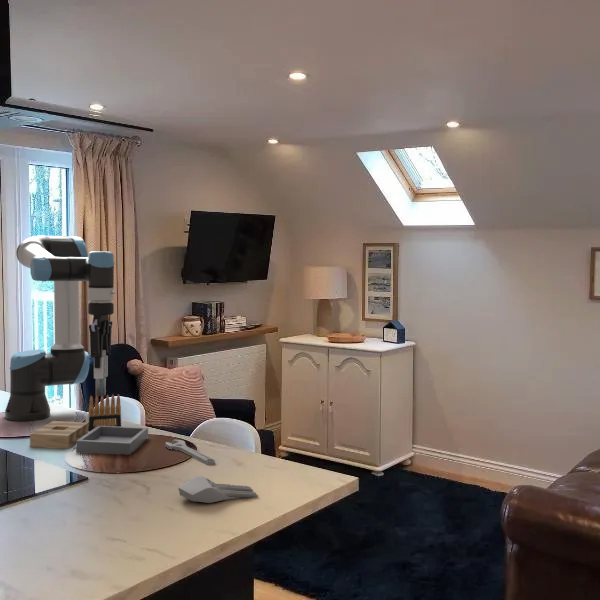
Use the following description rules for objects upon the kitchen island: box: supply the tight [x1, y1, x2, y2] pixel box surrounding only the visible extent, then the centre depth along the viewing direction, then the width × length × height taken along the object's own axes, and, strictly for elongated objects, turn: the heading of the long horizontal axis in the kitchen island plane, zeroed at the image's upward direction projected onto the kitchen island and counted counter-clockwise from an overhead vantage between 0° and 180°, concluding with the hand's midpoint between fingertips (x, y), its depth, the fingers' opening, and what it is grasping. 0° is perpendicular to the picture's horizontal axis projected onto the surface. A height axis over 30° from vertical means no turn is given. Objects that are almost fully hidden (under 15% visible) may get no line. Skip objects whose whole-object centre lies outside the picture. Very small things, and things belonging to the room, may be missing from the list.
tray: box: [75, 426, 149, 456], centre depth 220 cm, size 18×16×4 cm
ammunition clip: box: [87, 393, 122, 432], centre depth 237 cm, size 11×2×12 cm, turn 113°
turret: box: [178, 475, 259, 504], centre depth 177 cm, size 10×20×5 cm, turn 111°
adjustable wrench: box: [165, 439, 216, 466], centre depth 213 cm, size 25×6×2 cm, turn 34°
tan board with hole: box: [29, 420, 89, 450], centre depth 223 cm, size 16×12×4 cm
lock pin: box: [95, 349, 107, 397], centre depth 219 cm, size 3×3×14 cm
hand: (100, 377), depth 219 cm, fingers closed on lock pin, 3 cm apart
